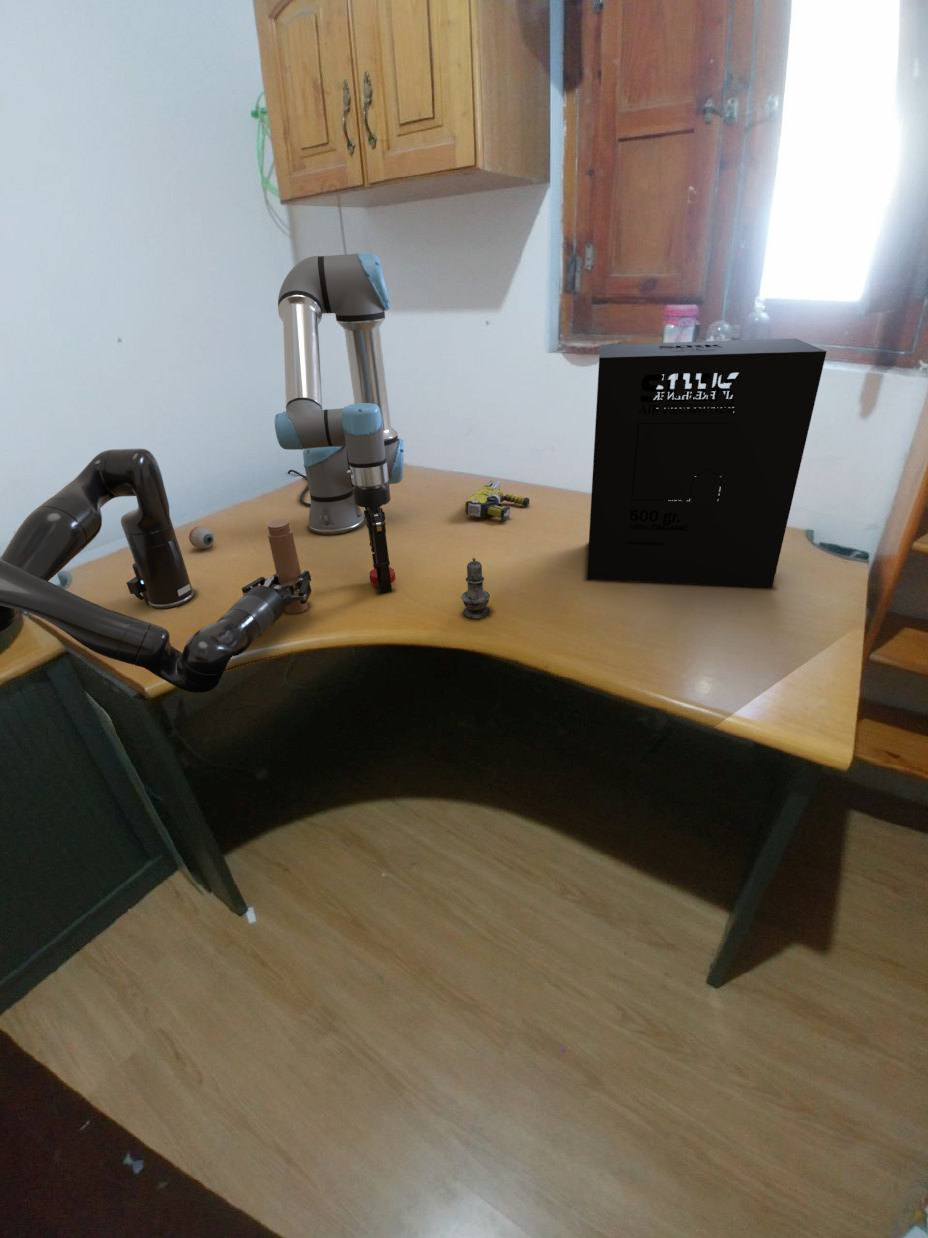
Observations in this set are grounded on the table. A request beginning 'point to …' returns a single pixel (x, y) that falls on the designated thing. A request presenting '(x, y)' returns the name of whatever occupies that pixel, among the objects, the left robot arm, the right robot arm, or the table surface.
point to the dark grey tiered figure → (475, 592)
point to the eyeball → (201, 537)
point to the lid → (375, 580)
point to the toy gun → (492, 502)
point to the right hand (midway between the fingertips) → (383, 585)
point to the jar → (285, 558)
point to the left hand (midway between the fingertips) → (296, 574)
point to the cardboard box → (698, 459)
